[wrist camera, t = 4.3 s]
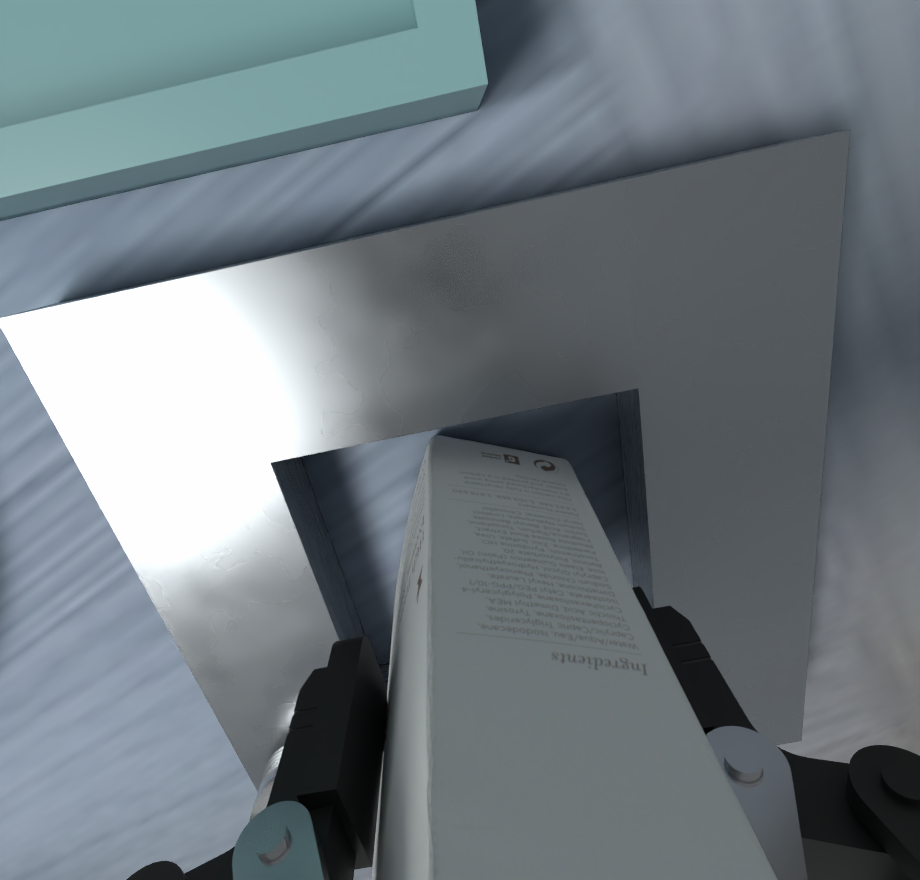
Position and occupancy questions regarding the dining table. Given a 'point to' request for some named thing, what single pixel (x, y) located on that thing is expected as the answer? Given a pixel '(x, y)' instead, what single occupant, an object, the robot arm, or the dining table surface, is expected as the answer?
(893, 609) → the dining table surface
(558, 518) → the skincare box
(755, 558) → the socket block
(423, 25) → the tray
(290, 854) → the robot arm
